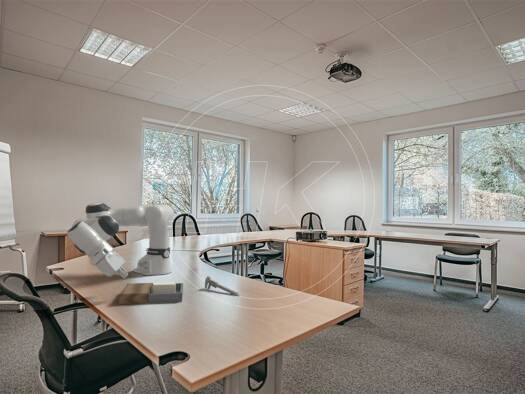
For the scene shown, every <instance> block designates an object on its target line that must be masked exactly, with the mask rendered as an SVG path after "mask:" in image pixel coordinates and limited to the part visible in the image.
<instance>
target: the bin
mask: <svg viewBox="0 0 525 394" xmlns="http://www.w3.org/2000/svg"><path fill="white" fill-rule="evenodd" d="M183 294H184V282H180V283H179V282H176V286H175V293H156V294H153V293H152V294H149V302H148V304H153V303H154V304H155V303H156V304H157V303H159V304H160V303H179V302H183Z"/></svg>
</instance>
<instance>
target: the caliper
mask: <svg viewBox="0 0 525 394" xmlns="http://www.w3.org/2000/svg"><path fill="white" fill-rule="evenodd" d="M211 287H213V288H214V289H217V288H218V289H219V290H220V289H221V290H222V291H225V292H227V293H228V294H230V295H233V296H238V297H239V296H241V294H239V292H238V291H235V290H233V289H231V288H229V287H226V286H224V285H222V284H220V283H219V282H218V281H217V280H213V279H211V276H209V275H207V276H206V277H205V280H204V289H207V290H209V289H211Z"/></svg>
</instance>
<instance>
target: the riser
mask: <svg viewBox="0 0 525 394" xmlns="http://www.w3.org/2000/svg"><path fill="white" fill-rule="evenodd" d="M153 284H154V282H138V283H135V282H134V283H126V285H125V286H124V288H123V289H122V290H121V292H120V293H119V294H118V295H119V299H118V304H119V305H128V304H149V294H152V293H153Z"/></svg>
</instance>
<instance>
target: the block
mask: <svg viewBox="0 0 525 394" xmlns="http://www.w3.org/2000/svg"><path fill="white" fill-rule="evenodd" d="M176 283H177V282H176V281H154V282H153V294H156V293H175V286H176Z"/></svg>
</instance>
